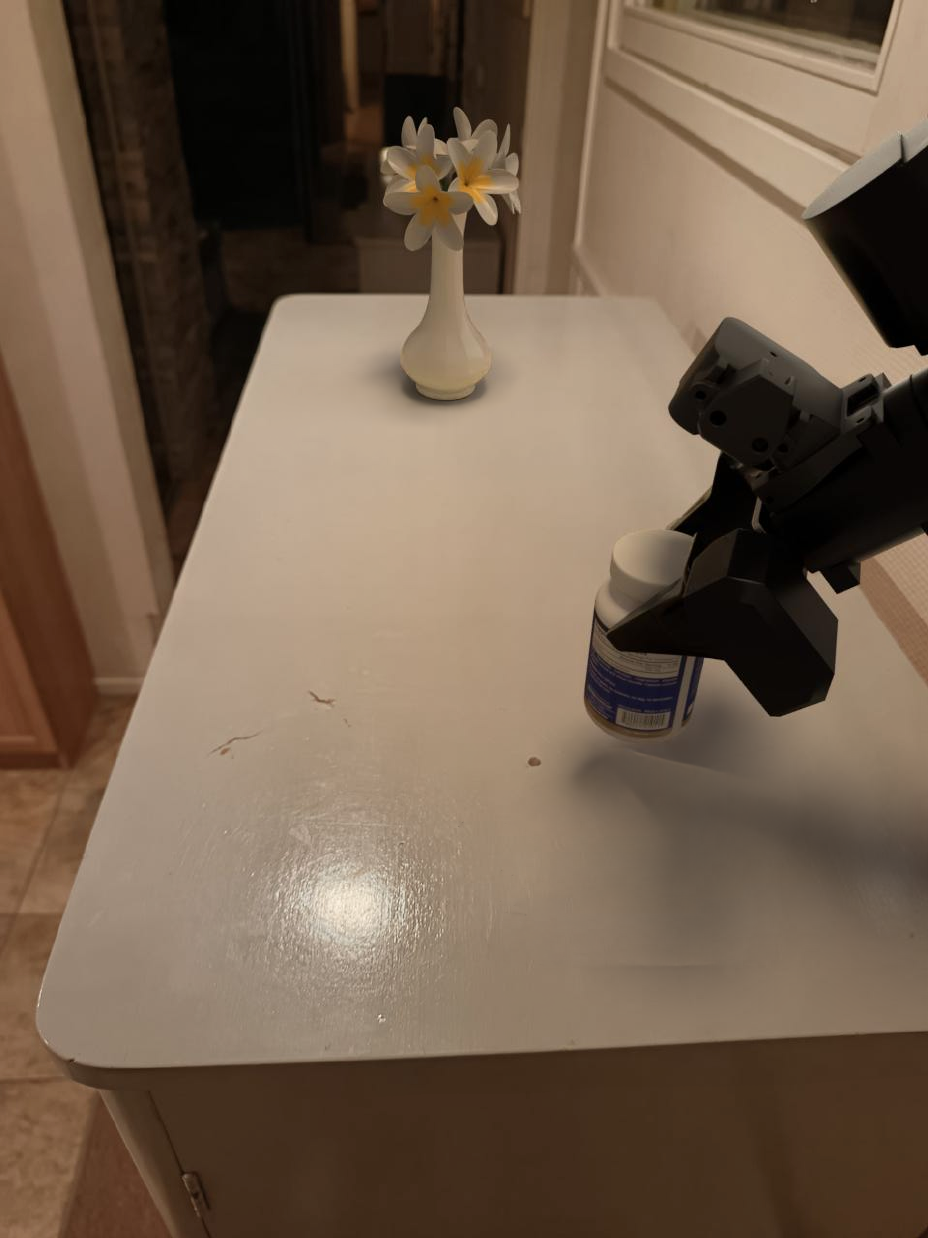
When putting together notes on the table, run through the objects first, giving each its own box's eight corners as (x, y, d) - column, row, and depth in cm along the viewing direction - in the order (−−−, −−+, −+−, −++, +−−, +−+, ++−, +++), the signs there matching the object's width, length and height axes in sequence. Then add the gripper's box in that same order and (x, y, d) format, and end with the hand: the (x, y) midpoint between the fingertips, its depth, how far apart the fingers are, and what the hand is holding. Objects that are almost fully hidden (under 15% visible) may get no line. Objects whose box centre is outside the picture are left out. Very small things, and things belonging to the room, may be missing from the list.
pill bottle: (633, 660, 50) (659, 509, 44) (712, 716, 46) (753, 560, 40) (559, 702, 47) (576, 547, 41) (637, 765, 44) (669, 606, 38)
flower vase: (381, 430, 84) (371, 137, 69) (391, 355, 99) (384, 99, 83) (516, 432, 85) (537, 141, 69) (506, 357, 99) (521, 103, 83)
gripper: (841, 206, 38) (573, 403, 48) (818, 358, 25) (449, 591, 34) (971, 405, 41) (693, 552, 51) (1016, 642, 27) (622, 782, 37)
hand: (625, 605), depth 43 cm, fingers closed on pill bottle, 6 cm apart
